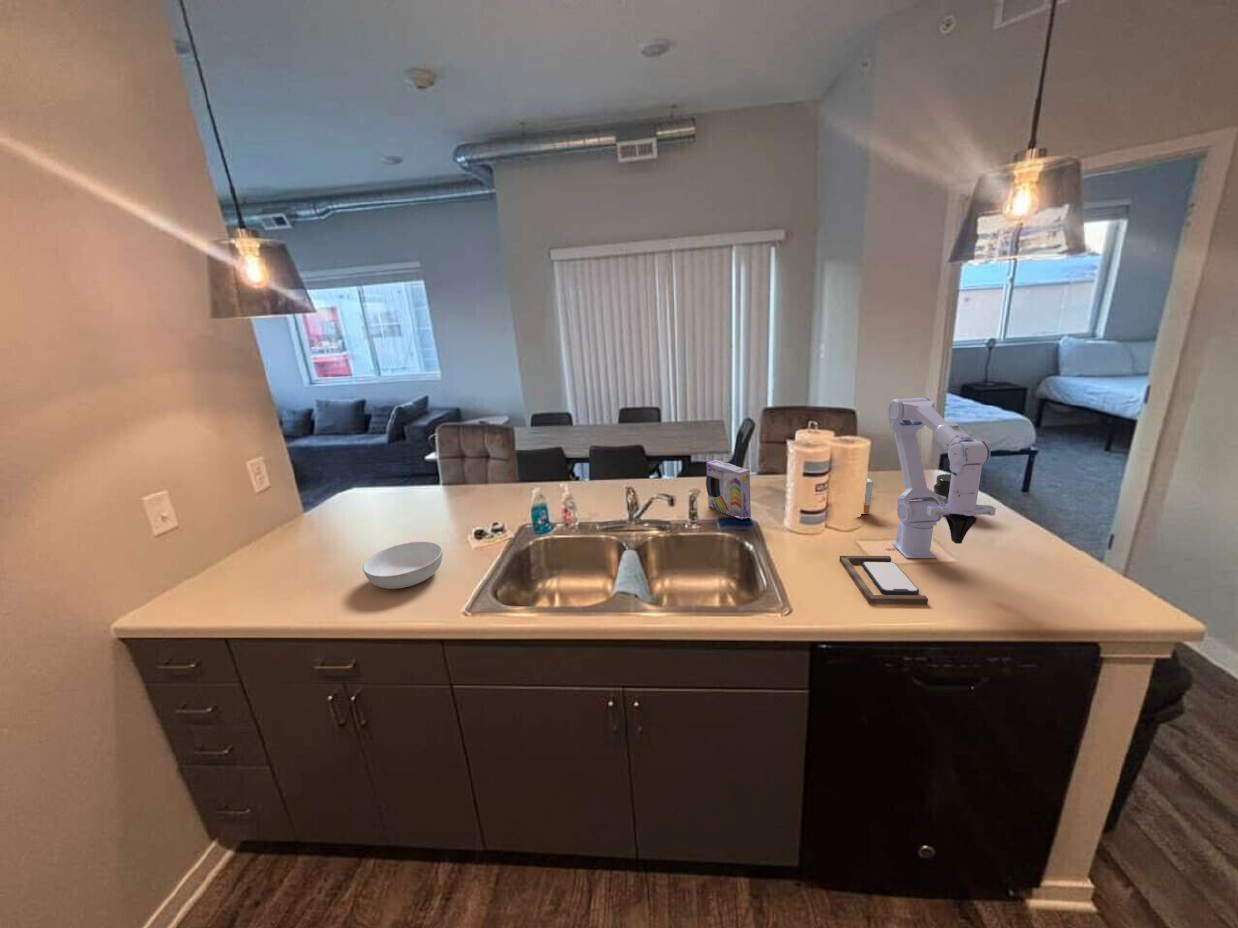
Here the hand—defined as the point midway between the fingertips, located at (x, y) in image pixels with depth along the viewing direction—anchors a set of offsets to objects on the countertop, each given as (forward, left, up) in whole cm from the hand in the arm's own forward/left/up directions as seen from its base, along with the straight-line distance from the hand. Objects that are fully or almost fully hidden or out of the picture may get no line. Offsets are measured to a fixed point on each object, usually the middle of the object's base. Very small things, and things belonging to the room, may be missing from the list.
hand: (956, 541), depth 123 cm
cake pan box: (-47, -51, -11) cm, 70 cm away
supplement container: (-45, +22, -11) cm, 51 cm away
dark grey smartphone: (0, -15, -11) cm, 19 cm away
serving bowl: (+1, -146, -11) cm, 146 cm away
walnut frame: (+1, -17, -10) cm, 20 cm away
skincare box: (-45, -7, -11) cm, 47 cm away
